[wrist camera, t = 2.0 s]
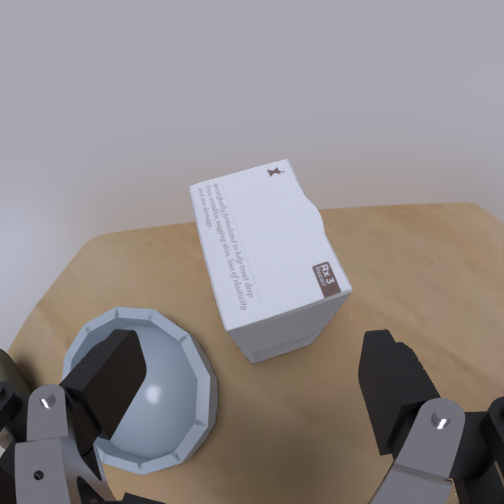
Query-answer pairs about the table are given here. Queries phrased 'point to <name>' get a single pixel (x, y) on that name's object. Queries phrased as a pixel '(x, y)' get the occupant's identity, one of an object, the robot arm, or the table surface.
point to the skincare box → (268, 259)
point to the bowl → (155, 392)
